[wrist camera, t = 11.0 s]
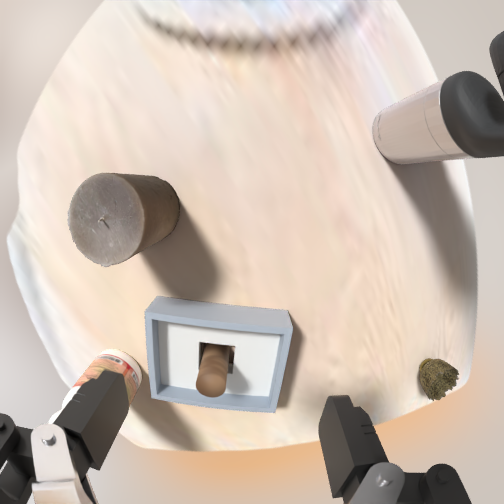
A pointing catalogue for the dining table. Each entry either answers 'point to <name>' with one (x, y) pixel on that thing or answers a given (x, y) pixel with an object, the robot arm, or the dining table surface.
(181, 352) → the box
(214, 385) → the peg
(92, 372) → the fruit juice
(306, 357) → the dining table surface
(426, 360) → the mottled brown rounded lump
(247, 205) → the dining table surface
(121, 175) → the pillar candle
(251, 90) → the dining table surface
